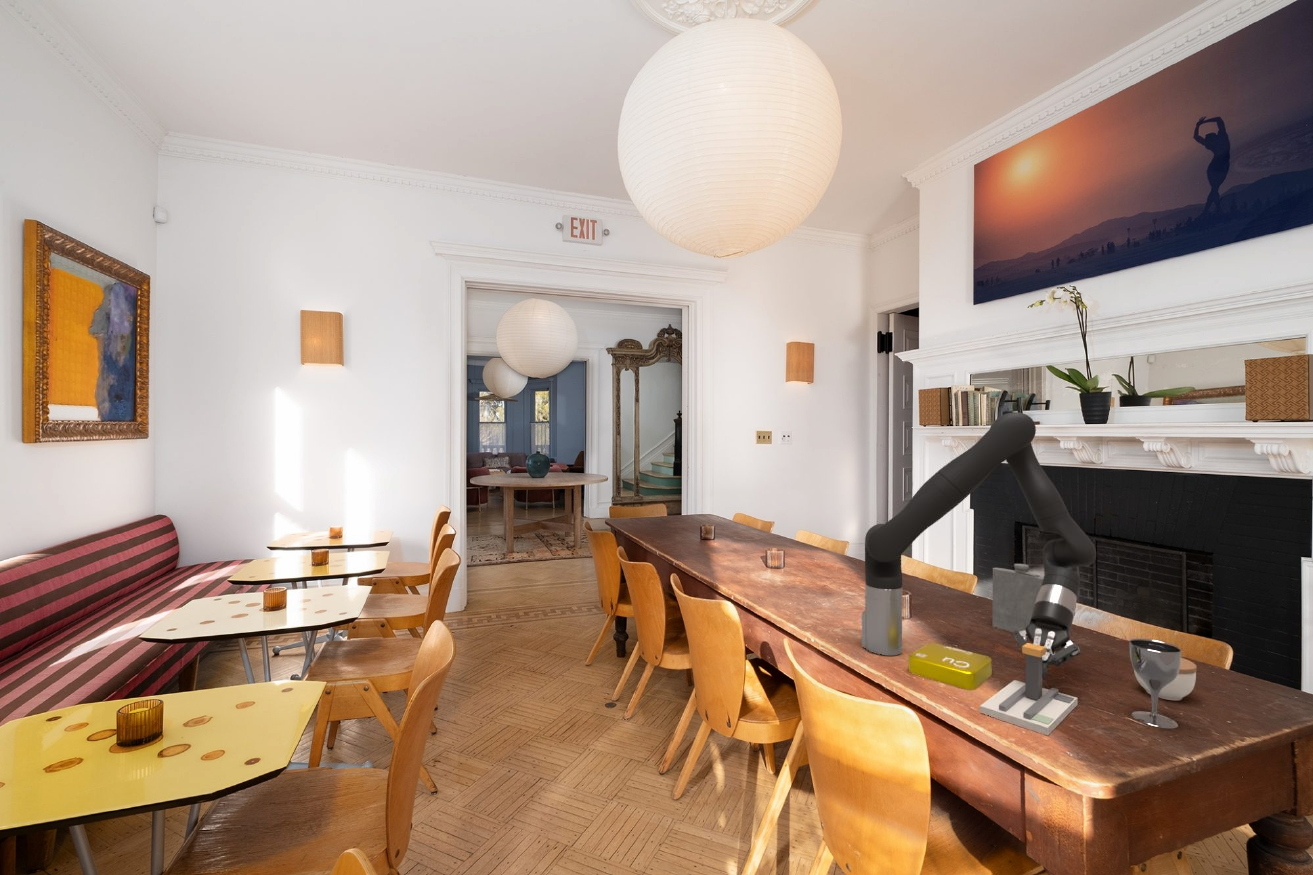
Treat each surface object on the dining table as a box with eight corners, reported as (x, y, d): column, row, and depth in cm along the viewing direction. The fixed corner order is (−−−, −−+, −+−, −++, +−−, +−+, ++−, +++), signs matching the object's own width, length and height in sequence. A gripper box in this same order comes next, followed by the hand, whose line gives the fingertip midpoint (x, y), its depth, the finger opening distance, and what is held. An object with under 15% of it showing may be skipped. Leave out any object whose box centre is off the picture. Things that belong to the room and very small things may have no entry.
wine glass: (1118, 711, 122) (1119, 638, 122) (1154, 709, 122) (1154, 638, 122) (1154, 730, 114) (1155, 652, 114) (1192, 728, 114) (1192, 651, 114)
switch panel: (980, 713, 120) (980, 700, 120) (1014, 686, 133) (1014, 675, 133) (1047, 735, 111) (1047, 722, 111) (1077, 704, 124) (1077, 693, 124)
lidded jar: (1120, 683, 135) (1120, 643, 135) (1168, 684, 135) (1168, 644, 135) (1158, 704, 125) (1159, 660, 125) (1210, 706, 124) (1210, 661, 124)
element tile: (994, 675, 141) (994, 655, 141) (972, 693, 131) (972, 672, 131) (929, 658, 152) (930, 639, 152) (905, 673, 141) (905, 654, 141)
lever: (1021, 696, 124) (1022, 646, 124) (1027, 691, 126) (1027, 642, 126) (1040, 701, 122) (1040, 650, 122) (1045, 697, 124) (1045, 647, 124)
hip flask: (990, 626, 177) (990, 559, 177) (998, 624, 179) (999, 558, 179) (1044, 642, 163) (1045, 570, 163) (1053, 640, 164) (1053, 569, 164)
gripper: (1017, 594, 137) (997, 659, 128) (1086, 606, 127) (1069, 678, 118) (1025, 612, 140) (1006, 677, 132) (1092, 626, 130) (1076, 697, 122)
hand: (1036, 677), depth 125 cm, fingers closed
